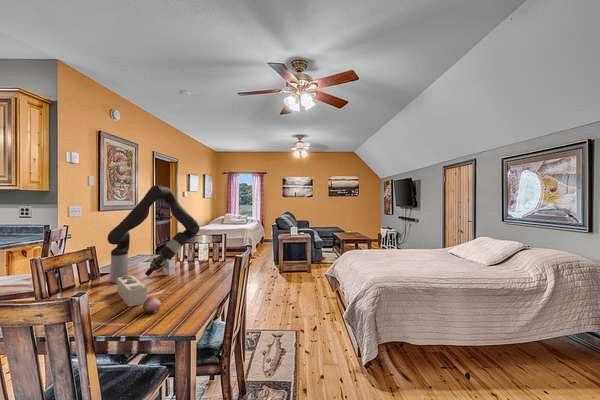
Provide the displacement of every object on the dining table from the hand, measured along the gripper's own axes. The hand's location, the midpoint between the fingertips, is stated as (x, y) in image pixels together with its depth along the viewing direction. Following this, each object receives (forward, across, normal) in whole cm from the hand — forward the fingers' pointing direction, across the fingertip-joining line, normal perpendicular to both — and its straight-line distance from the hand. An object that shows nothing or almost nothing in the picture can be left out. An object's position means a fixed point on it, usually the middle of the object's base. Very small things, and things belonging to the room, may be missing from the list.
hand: (146, 275), depth 156 cm
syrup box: (-8, -48, +28) cm, 56 cm away
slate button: (+8, -11, +1) cm, 14 cm away
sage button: (+9, 0, +2) cm, 9 cm away
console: (+13, -11, +6) cm, 18 cm away
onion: (+11, +19, +8) cm, 23 cm away
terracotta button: (+8, -22, +1) cm, 23 cm away
